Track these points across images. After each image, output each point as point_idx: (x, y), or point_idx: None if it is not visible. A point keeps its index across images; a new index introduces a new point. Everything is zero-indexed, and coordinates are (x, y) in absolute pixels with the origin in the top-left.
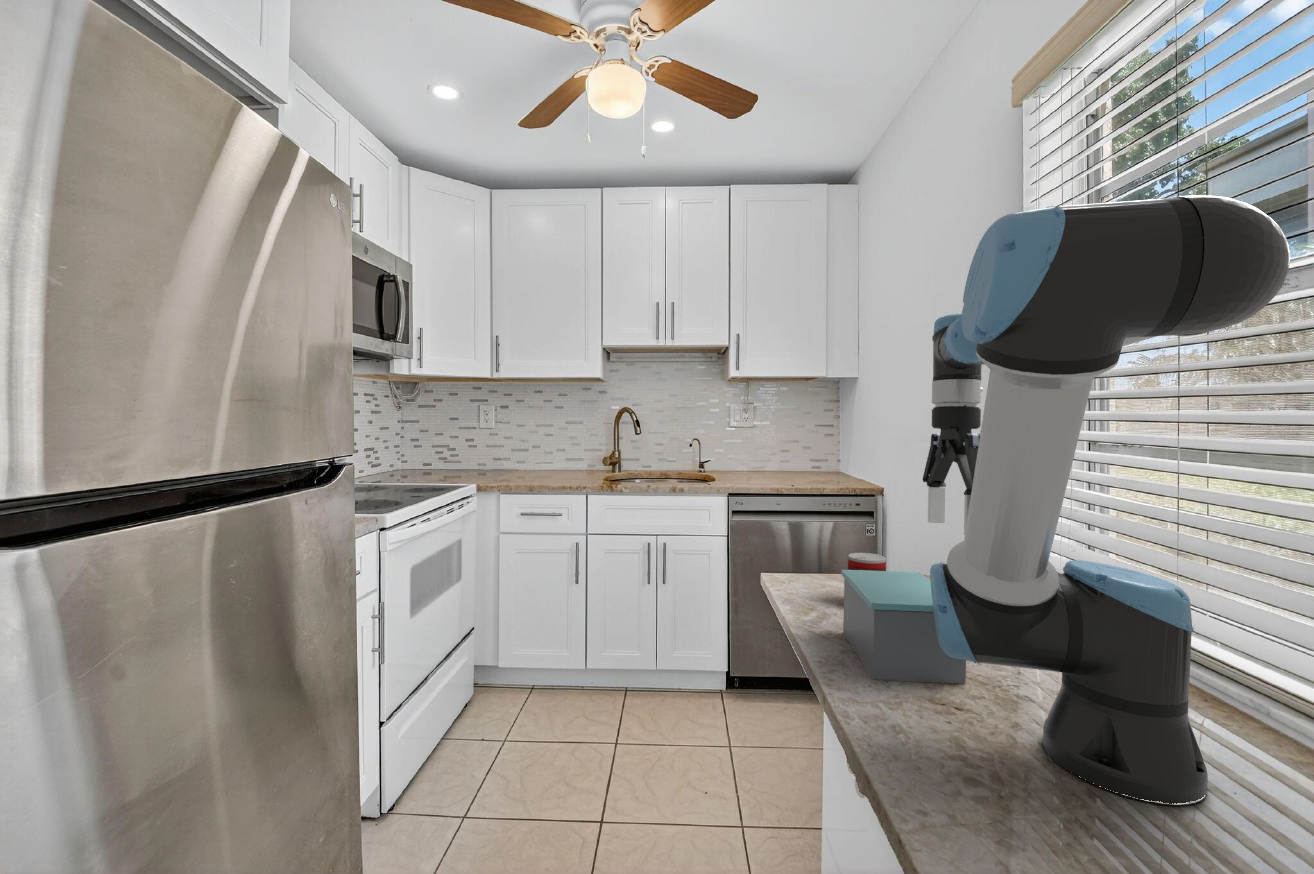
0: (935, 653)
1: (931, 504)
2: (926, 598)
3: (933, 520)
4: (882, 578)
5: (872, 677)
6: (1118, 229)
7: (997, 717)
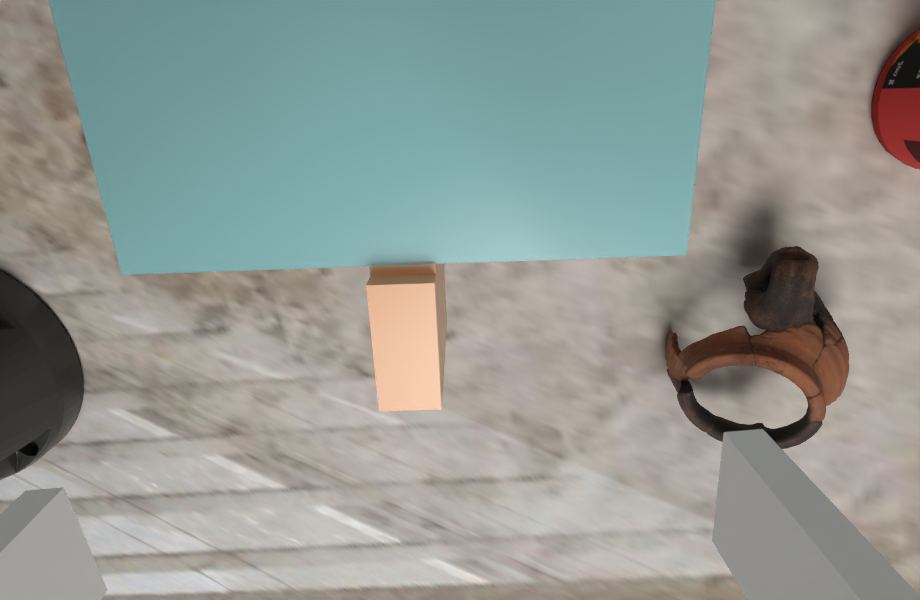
0: None
1: (837, 592)
2: (192, 134)
3: (730, 476)
4: (539, 1)
5: None
6: None
7: (78, 216)
